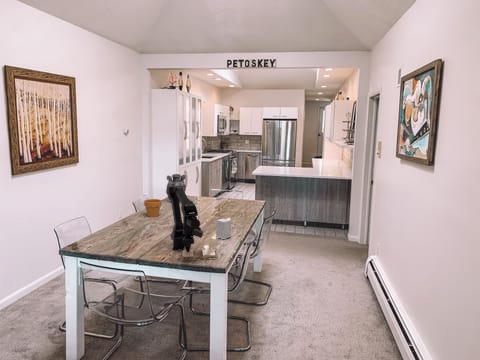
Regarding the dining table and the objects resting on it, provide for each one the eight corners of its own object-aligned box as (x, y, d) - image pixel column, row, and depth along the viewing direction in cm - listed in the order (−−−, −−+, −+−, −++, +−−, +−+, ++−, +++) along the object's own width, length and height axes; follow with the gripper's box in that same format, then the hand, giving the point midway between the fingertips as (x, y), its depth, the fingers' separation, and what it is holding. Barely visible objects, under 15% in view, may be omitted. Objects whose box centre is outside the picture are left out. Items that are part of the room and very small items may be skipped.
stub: (182, 256, 199) (182, 247, 198) (182, 251, 208) (182, 242, 207) (193, 256, 200) (193, 246, 199) (193, 251, 209) (193, 241, 208)
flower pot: (140, 216, 291) (140, 201, 289) (150, 213, 304) (150, 198, 302) (155, 218, 286) (155, 203, 285) (164, 215, 300) (164, 199, 298)
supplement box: (231, 238, 242) (231, 220, 240) (223, 240, 236) (223, 222, 234) (223, 235, 246) (223, 218, 245) (215, 237, 241) (216, 219, 239)
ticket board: (185, 260, 198) (185, 256, 198) (185, 252, 210) (185, 249, 209) (217, 259, 201) (217, 255, 200) (215, 252, 213) (215, 248, 212)
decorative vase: (180, 199, 367) (180, 172, 363) (190, 202, 353) (190, 175, 349) (161, 201, 353) (162, 174, 349) (171, 205, 339) (171, 176, 335)
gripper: (203, 229, 194) (203, 256, 196) (201, 220, 212) (201, 245, 214) (182, 229, 192) (182, 257, 194) (182, 220, 210) (182, 246, 212)
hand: (188, 251), depth 204 cm, fingers closed on stub, 3 cm apart
